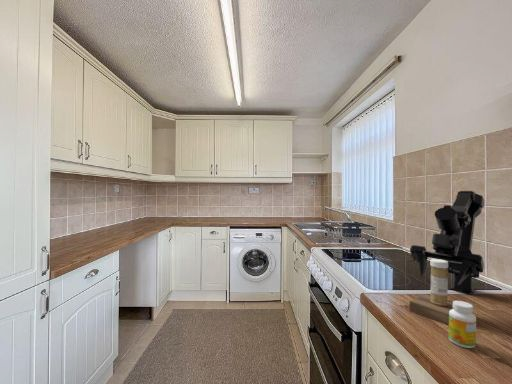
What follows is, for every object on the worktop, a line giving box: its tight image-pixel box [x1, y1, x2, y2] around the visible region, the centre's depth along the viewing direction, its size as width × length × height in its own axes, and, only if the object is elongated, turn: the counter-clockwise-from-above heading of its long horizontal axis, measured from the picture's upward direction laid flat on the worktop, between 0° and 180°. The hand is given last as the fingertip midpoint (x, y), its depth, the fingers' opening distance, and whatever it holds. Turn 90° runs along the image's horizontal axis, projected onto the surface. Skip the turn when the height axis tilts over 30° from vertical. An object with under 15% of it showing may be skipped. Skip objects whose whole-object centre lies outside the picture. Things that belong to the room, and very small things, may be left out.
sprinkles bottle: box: [429, 258, 449, 306], centre depth 82 cm, size 5×5×14 cm
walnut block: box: [409, 293, 454, 326], centre depth 81 cm, size 12×12×3 cm
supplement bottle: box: [448, 300, 477, 349], centre depth 66 cm, size 5×5×10 cm
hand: (438, 280), depth 80 cm, fingers open, 9 cm apart
